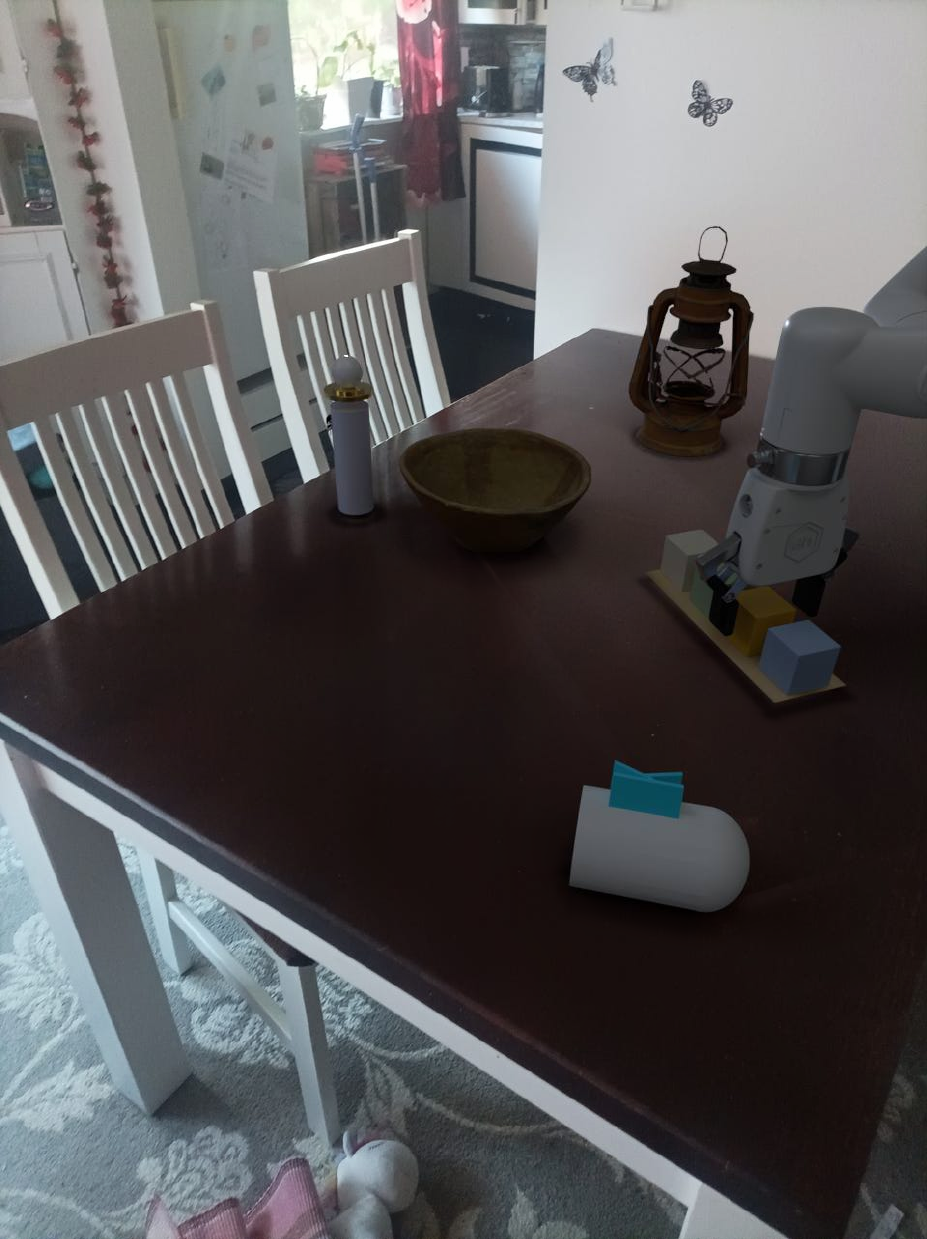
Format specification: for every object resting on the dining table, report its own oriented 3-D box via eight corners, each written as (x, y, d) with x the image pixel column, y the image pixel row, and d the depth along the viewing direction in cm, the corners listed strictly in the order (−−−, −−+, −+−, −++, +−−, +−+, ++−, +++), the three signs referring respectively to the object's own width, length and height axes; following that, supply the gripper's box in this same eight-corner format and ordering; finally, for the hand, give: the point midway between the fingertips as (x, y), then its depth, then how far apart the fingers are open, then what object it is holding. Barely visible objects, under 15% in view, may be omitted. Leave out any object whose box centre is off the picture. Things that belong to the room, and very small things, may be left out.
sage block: (726, 592, 94) (733, 555, 92) (750, 615, 91) (759, 577, 88) (689, 599, 93) (696, 562, 90) (712, 623, 90) (720, 585, 87)
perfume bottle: (387, 508, 112) (381, 353, 100) (361, 526, 108) (351, 367, 96) (351, 497, 114) (341, 345, 103) (324, 515, 110) (310, 358, 99)
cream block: (695, 564, 99) (702, 529, 97) (717, 585, 96) (725, 548, 93) (659, 571, 98) (665, 535, 95) (681, 592, 94) (688, 555, 92)
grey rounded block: (769, 813, 56) (582, 781, 58) (745, 940, 58) (565, 905, 60) (748, 753, 67) (593, 728, 69) (729, 861, 69) (578, 834, 71)
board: (704, 567, 101) (706, 560, 100) (843, 693, 82) (846, 685, 81) (643, 579, 98) (644, 571, 98) (772, 710, 80) (774, 702, 79)
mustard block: (758, 623, 90) (768, 585, 87) (786, 648, 86) (797, 609, 83) (720, 631, 88) (728, 593, 86) (746, 657, 85) (756, 618, 82)
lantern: (735, 428, 135) (777, 219, 118) (738, 462, 125) (784, 238, 108) (626, 417, 138) (651, 212, 121) (619, 450, 128) (646, 230, 111)
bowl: (412, 596, 95) (410, 515, 89) (393, 501, 113) (391, 429, 108) (606, 582, 98) (616, 502, 92) (556, 492, 116) (562, 421, 111)
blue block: (797, 658, 85) (808, 619, 82) (828, 686, 81) (841, 646, 79) (757, 667, 84) (767, 627, 81) (787, 696, 80) (798, 656, 77)
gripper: (741, 490, 71) (707, 658, 80) (911, 461, 75) (860, 623, 85) (691, 454, 77) (665, 615, 86) (852, 429, 81) (811, 584, 91)
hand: (762, 618), depth 86 cm, fingers open, 9 cm apart
